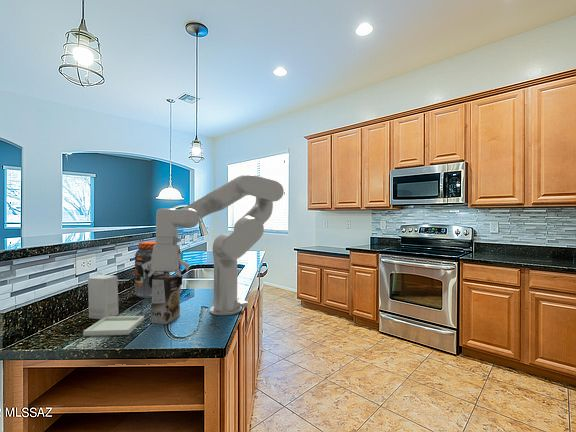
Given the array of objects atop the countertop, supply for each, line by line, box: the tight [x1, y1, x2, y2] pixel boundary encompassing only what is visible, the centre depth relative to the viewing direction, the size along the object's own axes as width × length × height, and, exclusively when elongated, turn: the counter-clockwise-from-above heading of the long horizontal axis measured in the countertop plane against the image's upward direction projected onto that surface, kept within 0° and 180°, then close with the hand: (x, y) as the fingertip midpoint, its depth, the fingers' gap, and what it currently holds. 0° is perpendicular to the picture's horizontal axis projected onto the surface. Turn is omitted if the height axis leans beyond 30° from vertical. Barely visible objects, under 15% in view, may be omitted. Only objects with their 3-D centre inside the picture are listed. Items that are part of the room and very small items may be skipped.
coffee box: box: [151, 274, 181, 325], centre depth 116 cm, size 9×6×16 cm
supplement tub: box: [134, 240, 171, 299], centre depth 152 cm, size 16×16×26 cm
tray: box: [82, 315, 145, 337], centre depth 108 cm, size 14×14×2 cm
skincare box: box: [87, 274, 119, 320], centre depth 119 cm, size 8×7×16 cm
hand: (165, 286), depth 116 cm, fingers open, 9 cm apart
